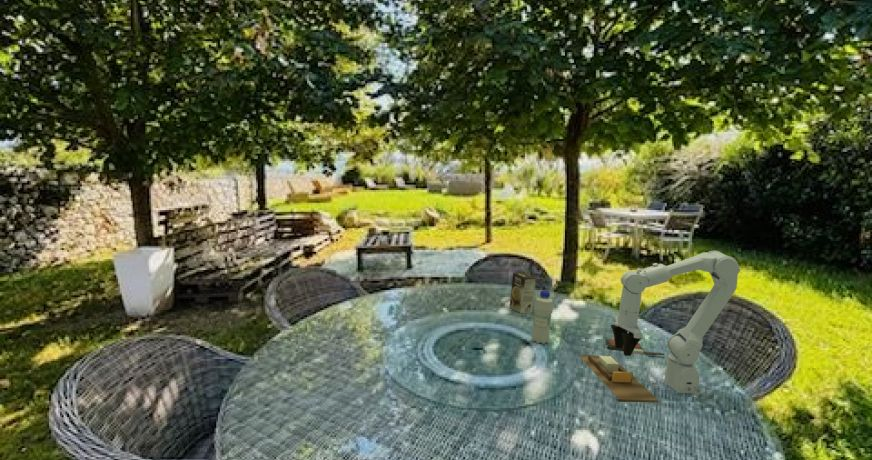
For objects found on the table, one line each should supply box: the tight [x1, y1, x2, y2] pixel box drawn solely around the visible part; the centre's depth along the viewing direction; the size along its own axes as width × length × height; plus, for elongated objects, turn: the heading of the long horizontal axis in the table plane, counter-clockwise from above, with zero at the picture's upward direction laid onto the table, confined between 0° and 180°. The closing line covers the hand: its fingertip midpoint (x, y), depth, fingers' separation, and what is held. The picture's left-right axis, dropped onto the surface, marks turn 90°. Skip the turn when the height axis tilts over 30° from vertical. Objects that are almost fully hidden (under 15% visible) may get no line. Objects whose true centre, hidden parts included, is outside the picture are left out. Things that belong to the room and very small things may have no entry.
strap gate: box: [612, 371, 634, 382], centre depth 150 cm, size 1×6×3 cm, turn 96°
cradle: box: [578, 354, 659, 404], centre depth 155 cm, size 30×12×2 cm, turn 6°
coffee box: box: [509, 271, 537, 314], centre depth 215 cm, size 9×6×16 cm
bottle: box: [531, 289, 554, 345], centre depth 178 cm, size 7×7×20 cm
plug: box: [598, 355, 620, 373], centre depth 160 cm, size 6×4×3 cm, turn 6°
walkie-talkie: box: [605, 338, 665, 356], centre depth 179 cm, size 9×4×20 cm
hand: (623, 351), depth 153 cm, fingers open, 5 cm apart
